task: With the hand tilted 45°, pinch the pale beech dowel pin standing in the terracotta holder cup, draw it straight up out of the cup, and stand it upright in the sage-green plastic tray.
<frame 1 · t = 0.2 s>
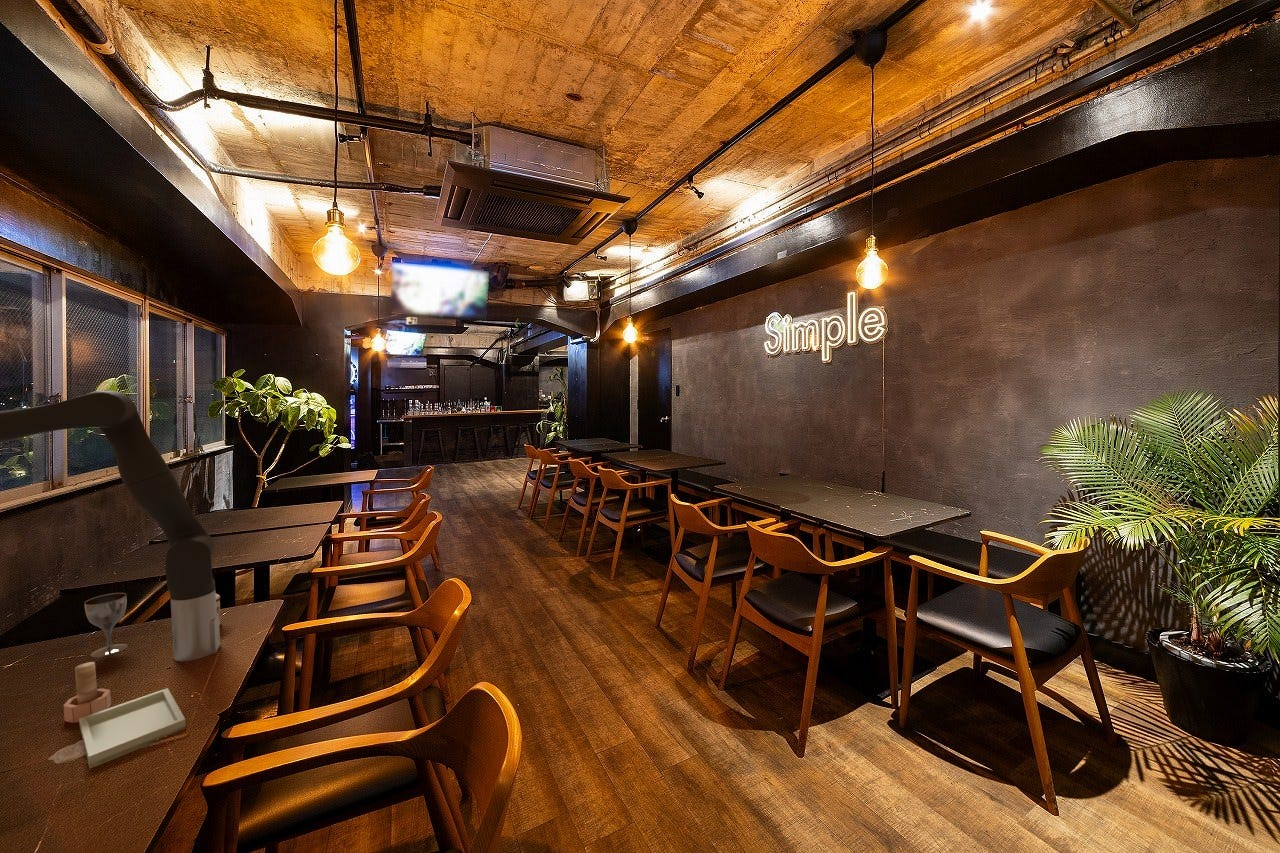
sage tray: (132, 729, 107), on the table
beech pin: (88, 712, 112), resting on pin holder cup
flatbread: (78, 754, 101), on the table
pin holder cup: (88, 714, 112), on the table
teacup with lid: (202, 627, 153), on the table
wine glass: (109, 651, 139), on the table
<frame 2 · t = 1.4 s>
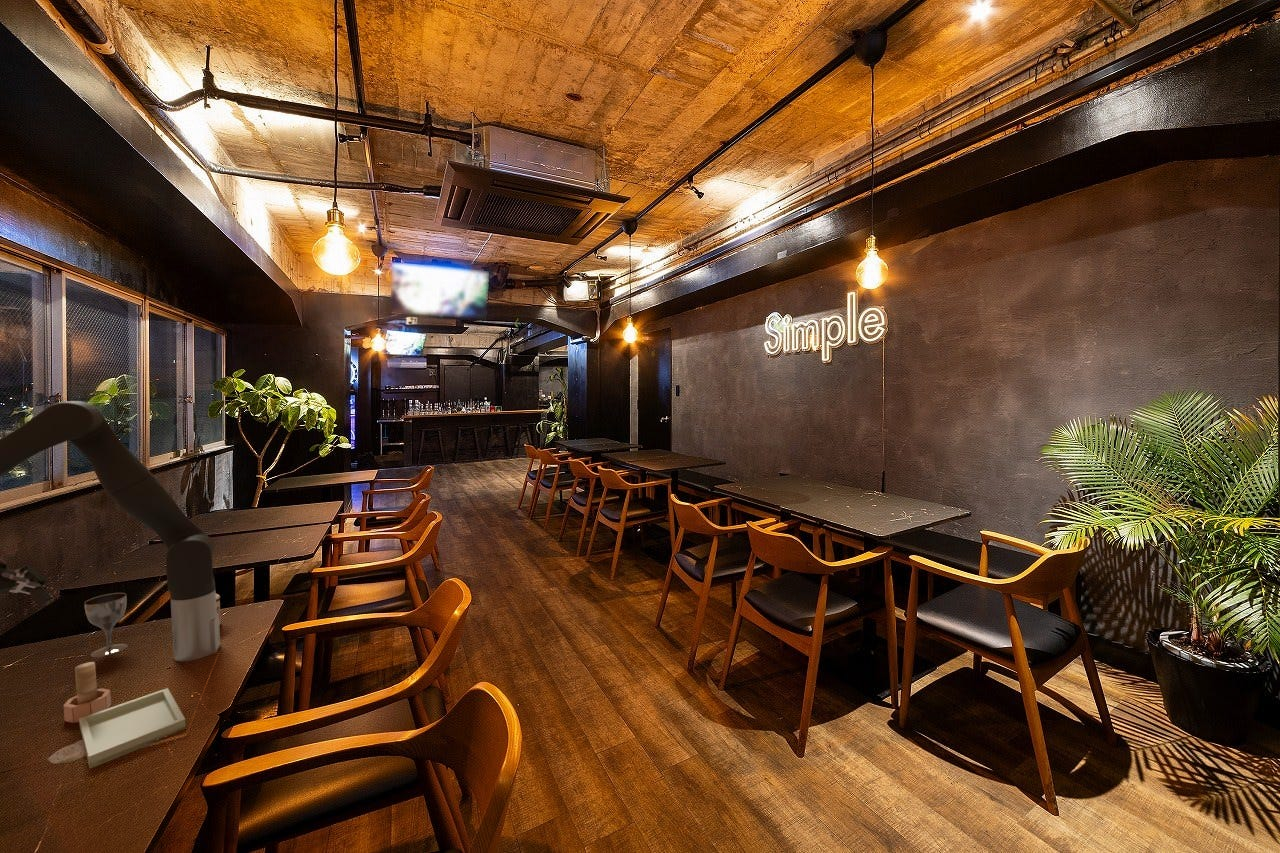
hand: (24, 610, 110), 24 cm above the table, tool tilted 45°, fingers open, 8 cm apart
nothing on the table moved.
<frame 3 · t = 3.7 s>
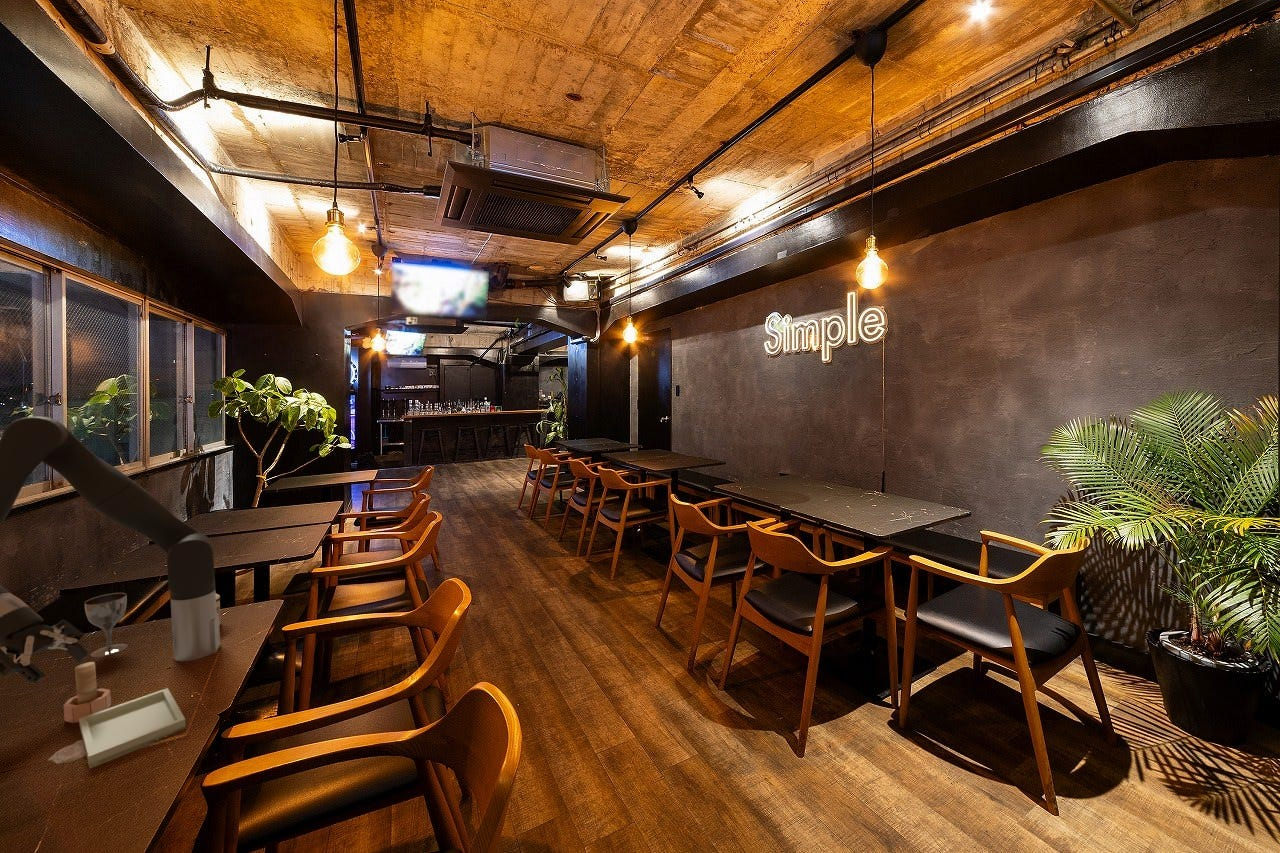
hand: (63, 668, 111), 11 cm above the table, tool tilted 45°, fingers open, 8 cm apart
nothing on the table moved.
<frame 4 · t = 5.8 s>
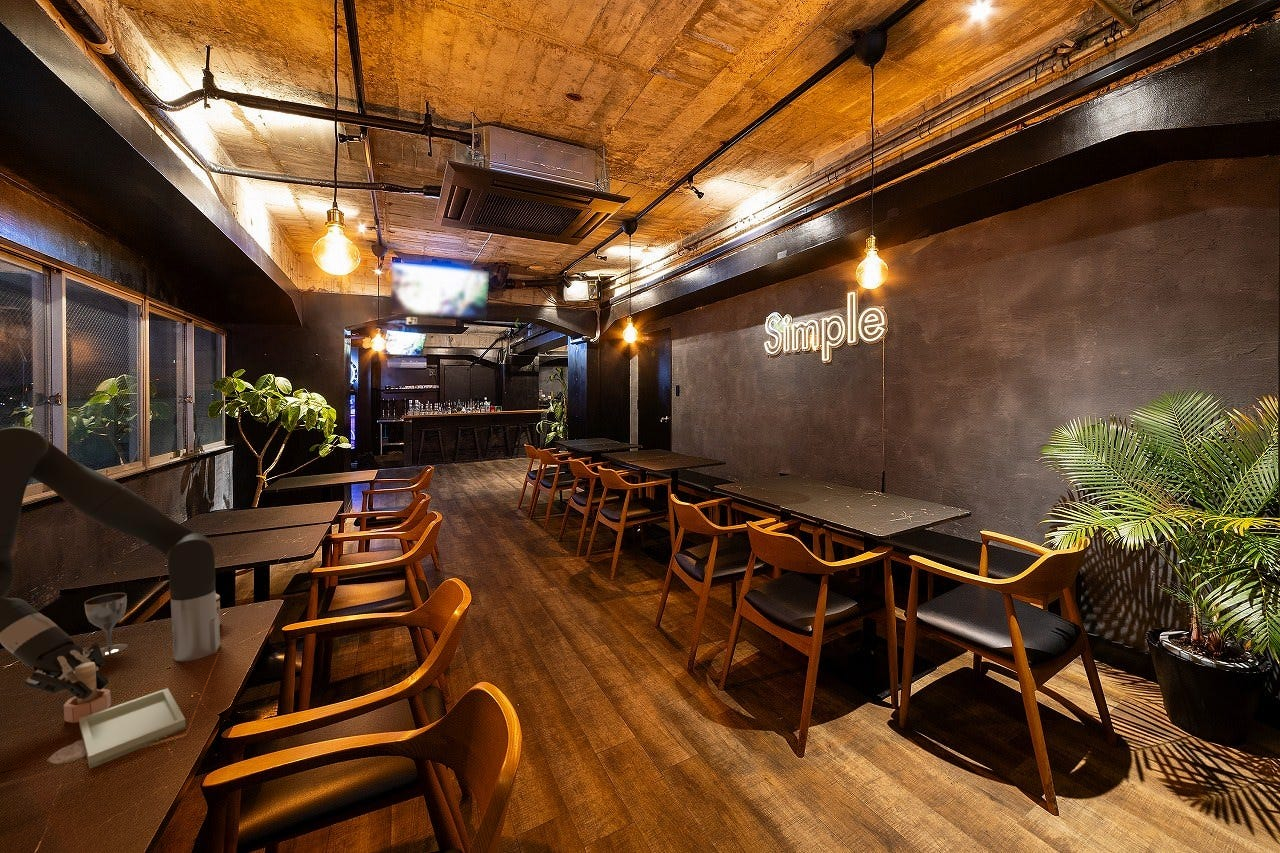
hand: (96, 690, 112), 6 cm above the table, tool tilted 45°, fingers closed on beech pin, 3 cm apart
beech pin: (88, 712, 112), point 1 cm above the table, touching gripper, pin holder cup
everything else where it was.
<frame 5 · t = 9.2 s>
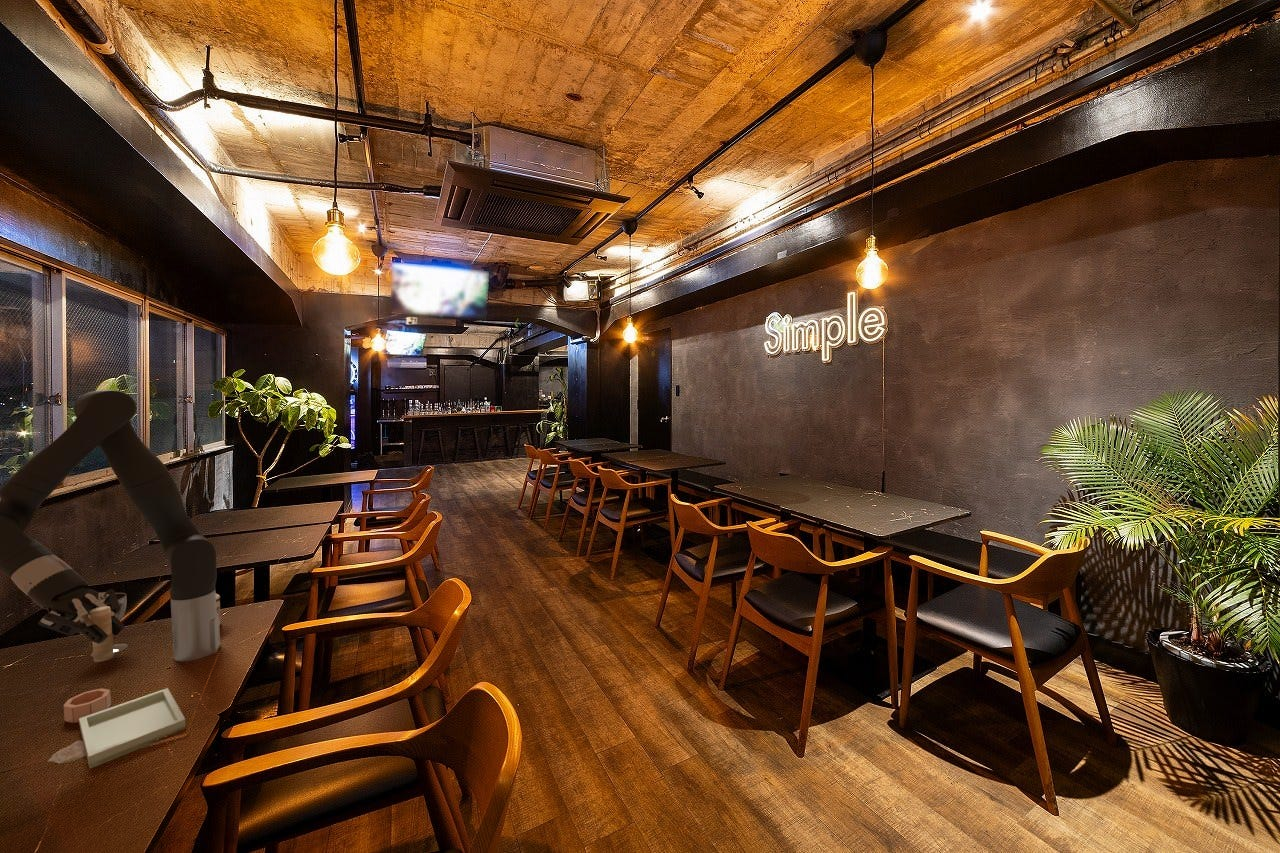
hand: (112, 635, 108), 20 cm above the table, tool tilted 45°, fingers closed on beech pin, 3 cm apart
beech pin: (104, 658, 108), point 15 cm above the table, touching gripper
everything else where it was.
when the fingers open (8 cm above the table, at t = 12.3 s): beech pin drops 1 cm, resting on sage tray.
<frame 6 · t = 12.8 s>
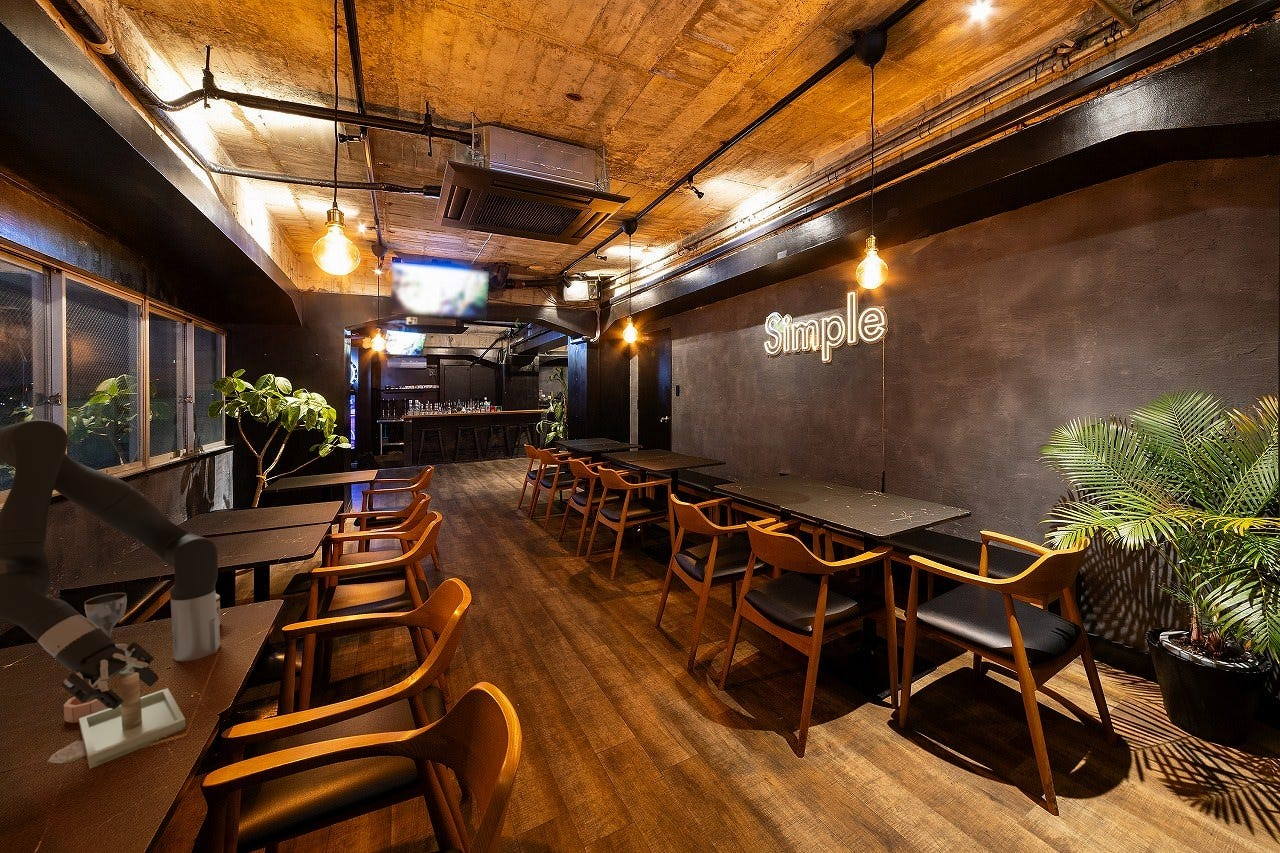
hand: (137, 693, 107), 8 cm above the table, tool tilted 45°, fingers open, 7 cm apart
beech pin: (132, 725, 107), point 1 cm above the table, touching sage tray
everything else where it was.
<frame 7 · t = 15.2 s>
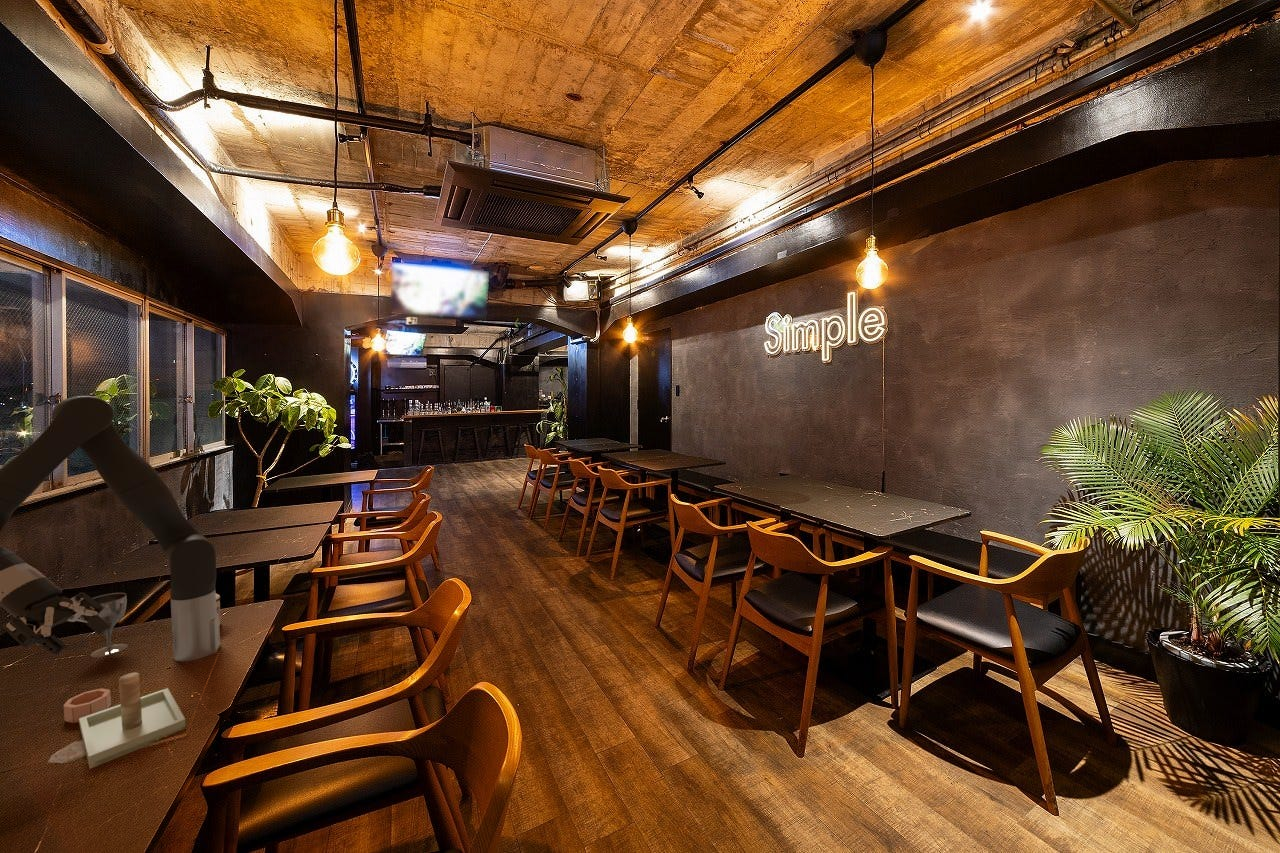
hand: (84, 640, 107), 19 cm above the table, tool tilted 45°, fingers open, 8 cm apart
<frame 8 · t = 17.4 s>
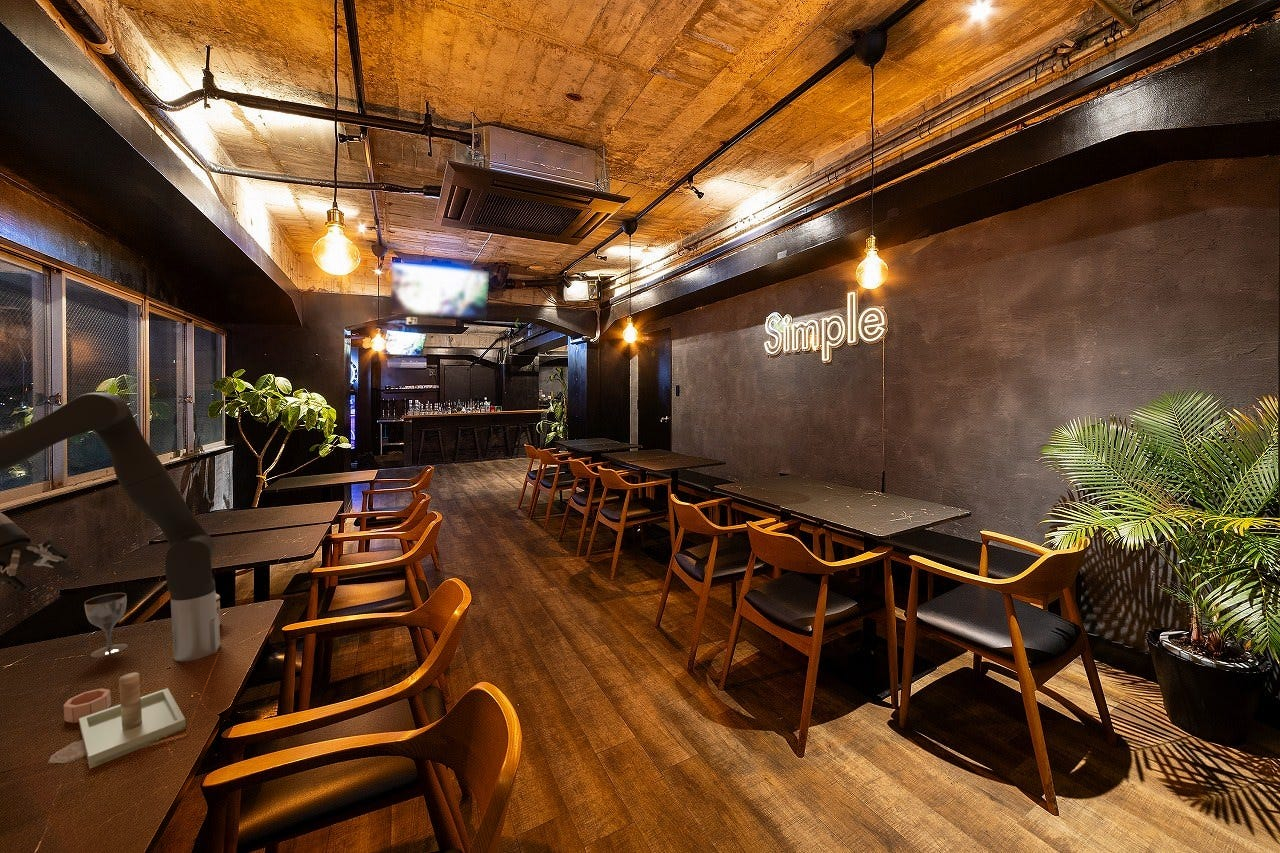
hand: (48, 582, 114), 29 cm above the table, tool tilted 45°, fingers open, 8 cm apart
at the end: beech pin inside the target area on the sage tray (0.1 cm from its centre), point 1.0 cm above the sage tray's base; the gripper is holding nothing; beech pin tilted 0° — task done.
